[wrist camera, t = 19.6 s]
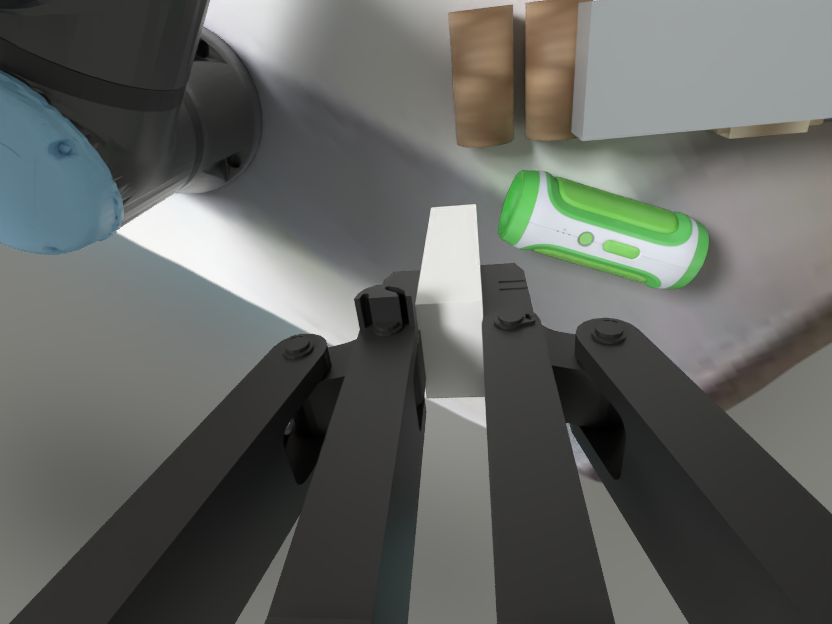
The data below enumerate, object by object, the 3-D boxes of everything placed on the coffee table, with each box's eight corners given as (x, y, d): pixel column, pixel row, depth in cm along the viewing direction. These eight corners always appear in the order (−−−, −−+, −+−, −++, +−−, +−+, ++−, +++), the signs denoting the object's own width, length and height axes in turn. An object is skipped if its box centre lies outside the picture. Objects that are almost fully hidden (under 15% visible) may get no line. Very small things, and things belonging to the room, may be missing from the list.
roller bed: (457, 137, 46) (456, 149, 42) (449, 12, 41) (447, 12, 37) (648, 118, 44) (667, 130, 40) (664, -15, 39) (688, -18, 35)
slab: (571, 132, 41) (582, 141, 38) (578, 2, 36) (591, 1, 33) (804, 109, 39) (835, 117, 36) (842, -28, 35) (881, -32, 32)
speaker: (493, 225, 51) (498, 255, 44) (520, 155, 47) (529, 177, 41) (653, 272, 52) (680, 308, 46) (691, 207, 48) (726, 237, 42)
